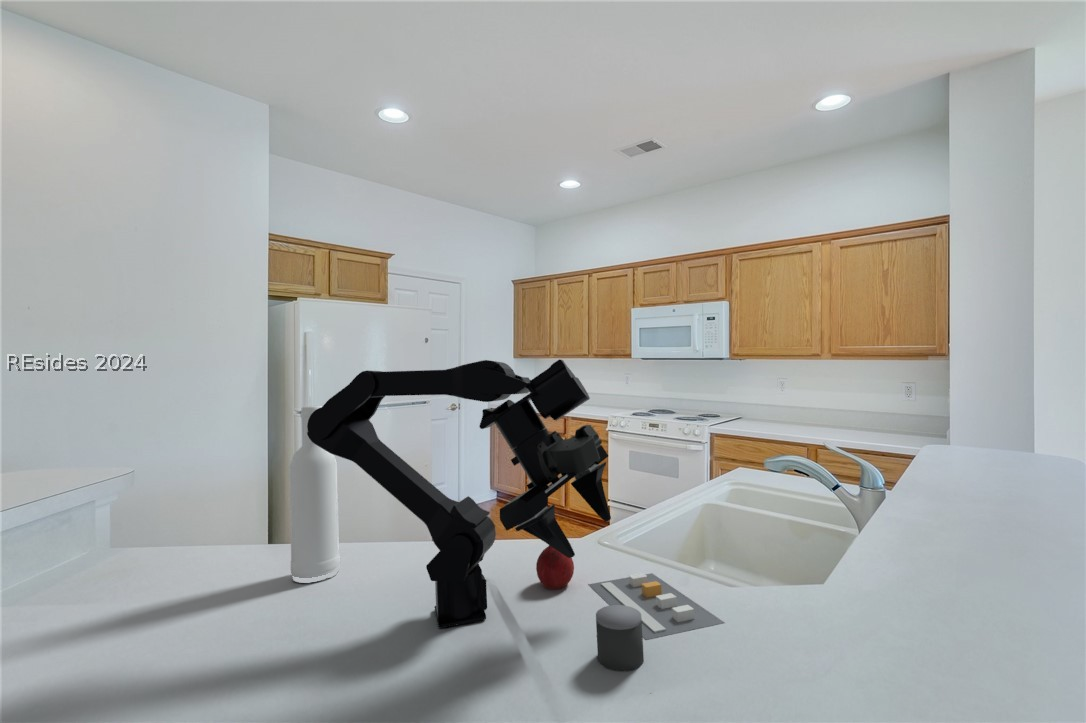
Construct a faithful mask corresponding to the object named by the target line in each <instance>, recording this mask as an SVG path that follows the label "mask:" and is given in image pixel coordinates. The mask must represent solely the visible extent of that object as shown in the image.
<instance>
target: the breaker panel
mask: <svg viewBox="0 0 1086 723" xmlns="http://www.w3.org/2000/svg"><path fill="white" fill-rule="evenodd" d="M654 581H657V582H658V583H660V584H661V589H662V595H657V596H652V597H646V596H644V595H643V594H642V584H643V583H649V582H654ZM587 585H588V586H589V587H590V588H591V589H592V590H593V591H594V592H595V593H596V594H597V595H599V597H600V598H601V599H602V600H604V602H605V603H606V604H608V606H611V605H624V606H629V607H632V608H635V609H637V610H638V611H639V612H640V613H641V617H642V637H643V639H644V640H645V641H647V640H654V639H657V638H661V637H662V638H663V637H666V636H671V635H672V636H673V635H675V634H680V633H684V632H690V631H694V630H699V629H704V628H707V627H708V628H709V627H714V626H718V625H721V624H726V622H725V621H723V620H722V619H720V618H719V617H717V616H716V615H715V614H713V613H711V612H710V611H709V610H707V609H705V608H704V607H703V606H702V605H700V604H699V603H697V602H696V601H694V600H692V599H691V598H690V597H688V596H686V595H685V594H683V592H682V591H679V590H678V589H676V588H675V587H674V586H671V585H670V584H669V583H667V582H665V581H664V580H663V579H662V578H660V577H659V576H657V575H655V574H654V573H643V572H642V573H637V574H636V573H635V574H631V575H628V577H622V578H617V579H611V580H605V581H600V582H599V581H598V582H594V583H588V584H587Z"/></svg>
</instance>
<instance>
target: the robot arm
mask: <svg viewBox="0 0 1086 723" xmlns="http://www.w3.org/2000/svg"><path fill="white" fill-rule="evenodd" d="M567 365H568V364H566V362H565V361H564V360H563V359H558V360H556V361H554V362H553V363H552V364H551V365H549V367H548V368H547V369H546V370H544V371H543V372H541V373H540V374H537V375H536V376H535V377H533V378H532V379H530V377H525V376H524V377H523V376H521V375H518V374H516V373H515V372H514V369H513V368H512V367H511V366H510V365H509V364H507V363H505V362H501V361H496V360H495V361H494V360H489V359H488V360H487V359H483V360H479V361H474V362H469V363H466V364H461V365H459V366H456V367H451V368H447V369H434V370H433V369H429V370H395V371H394V370H393V371H380V370H363V371H361V372H359V373H358V374H357V375H356V376H355V377H354V378H353V379H352V380H351V381H350V382H349V384H347V385H346V386H345V387H344V388H342V389H341V390H339V391H338V392H337V393H335V394H334V395H333V396H331V397H330V398H329V399H328V400H327V401H326V402H325V403H324V404H323V405H322V408H318V409H317V410H315V411H314V412H313V413H312V414H311V415H310V418H309V420H308V424H307V429H308V432H307V435H308V437H309V439H310V440H311V441H312V442H313V443H314V444H315V445H317V446H319V447H320V448H322V449H324V450H325V451H327V452H329V453H331V454H333V455H334V456H335V457H336V456H337V457H340V458H341V459H345V460H348V461H351V462H353V463H355V465H356V466H358V467H359V468H360V469H362V471H364V473H366V474H367V475H368V476H369V477H371V479H373V480H374V481H375V482H376V483H378V484H379V485H380V487H382V488H383V489H385V491H386V492H388V493H389V494H390V495H391V496H393V498H394V499H396V500H397V501H398V502H399V503H401V504H402V505H403V506H404V507H405V508H406V509H408V510H409V511H410V512H411V513H413V515H414V516H416V517H417V518H418V519H419V520H421V521H422V522H423V524H424V525H425V526H426V528H427V530H428V532H429V535H430V537H431V538H432V542H433V545H435V546H436V547H437V549H438V550H439V551H438V553H437V554H435V556H434V557H433V558H432V559H431V560H430V561H429V562H428V564H426V566H425V568H426V571H427V573H428V576H429V579H430V581H431V582H434V583H435V584H434V586H435V605H434V606H433V608H435V609H434V613H436V615H435V619H436V618H437V619H436V623H438V624H437V628H439V627H443V628H446V627H445V626H449V627H453V626H452V625H454V626H457V625H456V624H460V625H464V624H470V623H476V622H481V621H484V620H487V614H486V612H485V611H486V610H488V599H487V598H488V597H487V596H488V595H487V589H488V588H487V579H486V577H485V575H484V574H483V570H482V568H481V566H480V564H479V563H480V562H482V561H483V560H484V558H485V554H486V553H487V552H488V551H489V550H490V548H492V546H493V545H494V543H495V541H496V536H497V535H496V534H497V532H496V525H495V523H494V521H493V520H492V519H491V518H490V517H489V515H490V514H491V512H490V511H488V510H485V509H483V508H482V507H481V506H479V505H478V504H477V502H476V501H474V499H473V498H472V497H470V496H469V495H468V496H466V497H464V498H463V499H462V500H460V501H457V500H454V499H451V498H449V497H448V496H447V495H446V494H444V493H443V492H442V491H441V490H439V489H438V488H437V487H436V486H435V485H433V484H432V483H431V482H430V481H428V479H426V478H425V477H424V476H423V475H422V474H421V473H419V472H418V471H417V470H416V469H415V468H413V467H412V466H411V465H410V464H408V462H406V461H405V460H404V459H403V458H401V456H399V455H398V454H397V453H396V452H394V451H393V450H392V449H391V448H390V447H388V445H386V443H383V442H382V441H381V440H380V438H379V436H378V435H377V432H376V429H375V427H374V425H373V423H372V422H371V418H373V416H374V415H375V414H376V412H377V410H378V408H379V406H380V405H381V402H382V401H383V400H384V399H385V397H386V396H387V397H391V396H394V397H395V396H399V397H400V396H439V395H444V396H451V397H456V398H461V399H464V400H470V401H478V402H483V403H491V402H498V401H504V400H505V401H504V402H503V403H501V404H499V405H498V406H497V407H495V408H494V409H490V408H483V409H482V411H481V412H482V417H481V419H480V422H479V426H478V427H479V429H481V430H484V429H487V428H491V427H492V426H494V425H495V426H496V427H497V429H498V431H499V432H500V434H501V435H502V437H503V439H504V440H505V442H506V443H507V445H508V447H509V448H510V450H511V451H512V453H513V455H514V457H513V458H510V462H511V463H512V465H513V466H514V467H516V466H517V465H519V464H520V466H521V467H522V470H523V471H524V472H525V474H526V475H527V477H528V479H529V481H530V482H529V483H528V484H526V487H527V489H528V490H525V491H524V492H522V493H521V494H519V495H517V496H515V498H513V499H511V500H510V501H509V502H507V503H506V504H505V505H503V506H502V507H501V508H499V520H500V522H501V524H502V525H503V527H504V529H505V530H506V532H508V531H510V530H511V529H513V528H514V529H515V531H516V532H520V531H522V530H523V531H525V532H526V533H528V534H530V535H531V536H533V537H535V538H537V539H538V540H539V539H540V540H541V541H542V542H544V543H546V544H547V546H549V545H550V546H551V547H553V548H554V549H556V550H557V551H559V552H560V553H562V554H563V555H565V556H566V557H568V558H574V557H575V555H576V554H575V551H574V549H573V546H572V544H571V543H570V541H569V539H568V537H567V536H566V534H565V533H564V531H563V530H562V527H561V526H560V524H559V523H558V521H557V519H556V512H555V511H556V507H555V504H552V505H550V506H549V497H550V496H552V495H553V494H554V493H555V492H557V491H558V490H559V489H560V488H562V487H563V486H564V485H565V484H567V483H568V482H569V481H571V480H572V479H573V478H574V480H572V481H571V482H570V485H571V486H572V487H573V488H574V489H575V491H576V492H577V493H578V494H579V495H580V496H581V498H582V499H583V500H584V501H585V503H587V504H588V505H589V507H590V508H591V509H592V510H593V511H594V512H595V514H596V515H597V516H598V517H600V519H601V520H602V521H603V522H605V523H606V522H609V521H610V520H612V517H611V513H610V512H611V511H610V509H609V505H608V501H607V498H606V493H605V490H604V485H603V480H602V478H603V474H604V469H605V467H606V466H607V462H606V461H605V460H606V459H607V458H608V457H609V454H608V453H607V451H606V450H605V448H604V447H603V446H602V443H603V442H602V439H601V438H600V436H599V434H598V433H597V431H596V429H594V428H593V426H592V425H591V424H587V425H585V424H584V425H581V427H579V428H577V429H576V430H575V431H574V432H575V433H574V436H573V435H571V437H570V438H566V439H564V438H562V436H561V434H560V433H559V432H557V431H556V430H554V431H552V432H551V433H550V431H549V430H548V428H547V426H546V425H545V423H544V422H543V421H542V419H541V418H540V416H541V417H542V418H543V419H545V420H547V419H548V418H549V417H551V419H552V420H554V421H556V422H557V421H558V420H560V419H561V418H563V417H565V416H566V415H567V414H569V413H570V412H572V411H574V410H575V409H576V408H578V407H579V406H581V405H583V404H584V403H585V402H587V401H589V400H590V399H591V398H590V396H589V393H588V392H587V390H586V388H585V386H584V385H583V383H582V382H581V380H580V379H579V378H578V377H577V376H576V375H575V374H574V373H573V371H572V370H571V369H570V368H569V367H568V366H567ZM523 394H524V395H525V394H527V395H525V396H524V397H522V398H521V399H519V400H518V401H516V402H514V401H513V400H511V399H508V398H509V397H511V395H523ZM531 402H532V403H533V404H532V403H531ZM533 406H534V407H533ZM536 410H537V411H536ZM537 412H538V413H539V414H540V415H539V414H538V413H537ZM603 461H604V462H603ZM602 462H603V463H602Z"/></svg>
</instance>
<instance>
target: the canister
mask: <svg viewBox="0 0 1086 723" xmlns="http://www.w3.org/2000/svg"><path fill="white" fill-rule="evenodd" d="M595 625H596V627H595V628H596V644H597V646H596V648H597V661H598V663H599V664H600V665H601V666H602V667H604V669H607V670H611V671H614V672H623V673H624V672H630V671H635V670H638V668H640V667H641V666H643V664H644V660H645V657H644V656H645V655H644V641H643V639H644V638H643V637H642V617H641V613H640V612H639V611H638V610H637V609H635V608H632V607H629V606H624V605H611V606H610V605H606V606H603V607H601V608H600V609H598V610H597V611H596V613H595Z"/></svg>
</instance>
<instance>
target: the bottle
mask: <svg viewBox="0 0 1086 723" xmlns="http://www.w3.org/2000/svg"><path fill="white" fill-rule="evenodd" d="M322 407H323V405H313V406H312V405H311V406H302V407H301V410H300V412H301V413H300V418H301V446H300V448H298V449H297V451H296V452H295V453H294V454H293V456H292V458H291V461H290V464H289V503H290V504H289V506H290V507H289V511H290V514H289V515H290V518H289V519H290V574H292V576H294V577H299V578H312V577H318V576H322V575H326V574H328V573H331V572H333V571H335V570H336V569H338V567H339V568H340V564H341V561H340V559H341V558H340V556H341V555H340V547H339V545H340V543H339V542H340V539H339V537H340V535H339V498H338V497H339V496H338V493H339V492H338V462H337V460H336V455H333V454H331V453H329V452H327V451H325V450H324V449H322V448H320V447H319V446H317V445H315V444H314V443H313V442H312V441H311V440H310V439H309V437H308V435H307V432H308V429H307V424H308V420H309V418H310V415H311V414H312V413H313V412H314V411H315V410H317V409H318V408H322Z"/></svg>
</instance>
